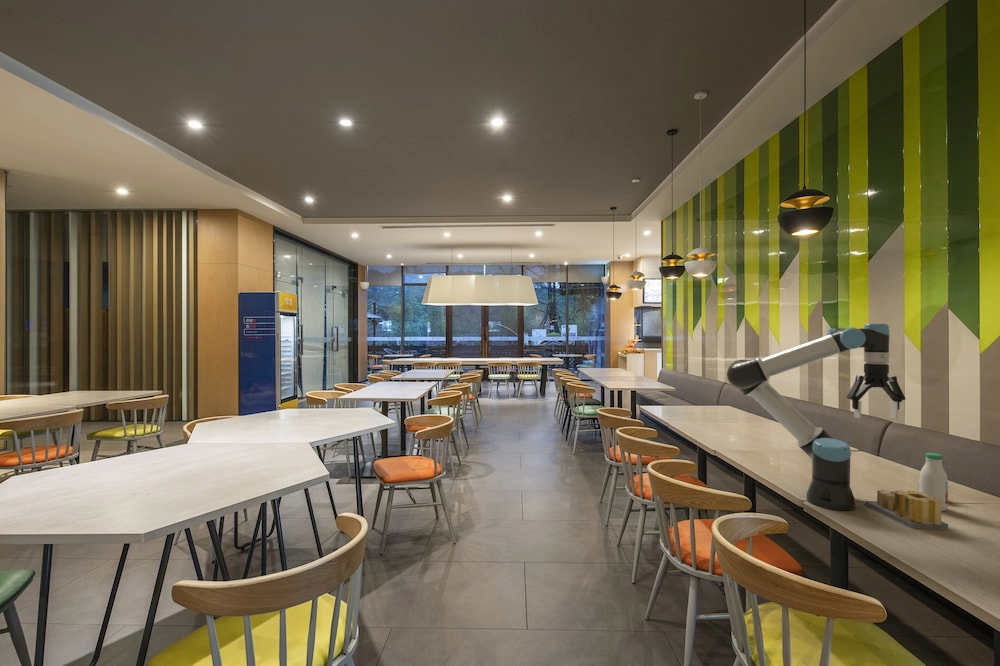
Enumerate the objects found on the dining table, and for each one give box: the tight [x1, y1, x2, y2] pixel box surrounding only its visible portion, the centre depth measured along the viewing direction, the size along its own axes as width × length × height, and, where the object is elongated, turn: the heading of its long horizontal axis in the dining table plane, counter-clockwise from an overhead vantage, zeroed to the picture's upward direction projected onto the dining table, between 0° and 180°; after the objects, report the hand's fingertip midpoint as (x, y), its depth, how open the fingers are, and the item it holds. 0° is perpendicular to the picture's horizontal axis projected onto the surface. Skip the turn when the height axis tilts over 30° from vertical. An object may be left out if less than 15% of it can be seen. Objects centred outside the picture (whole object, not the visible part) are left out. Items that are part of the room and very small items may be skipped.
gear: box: [895, 490, 942, 525], centre depth 156 cm, size 10×10×8 cm
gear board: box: [864, 488, 949, 530], centre depth 161 cm, size 12×20×7 cm, turn 178°
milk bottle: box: [918, 452, 949, 512], centre depth 170 cm, size 8×8×20 cm
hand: (875, 418), depth 177 cm, fingers open, 13 cm apart
